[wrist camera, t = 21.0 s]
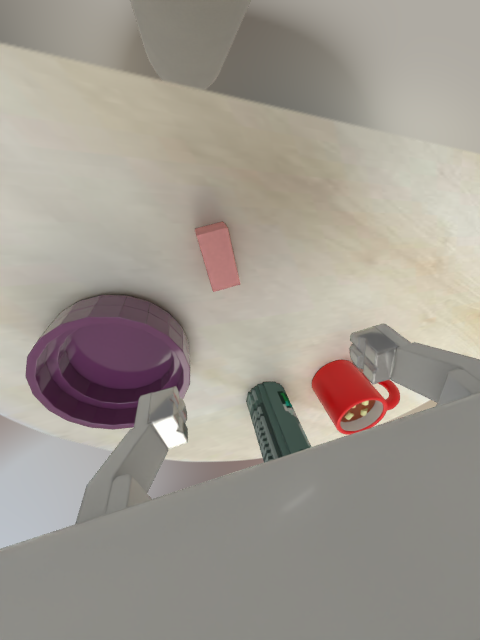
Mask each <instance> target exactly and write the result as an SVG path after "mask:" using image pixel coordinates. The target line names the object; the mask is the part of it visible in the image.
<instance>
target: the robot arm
mask: <svg viewBox="0 0 480 640" xmlns="http://www.w3.org/2000/svg"><path fill="white" fill-rule="evenodd" d="M350 341H351V342H352V343H353V344H352V345H351V347H350V357H351V359H352V361H353V363H354V364H355V365H356V366H357V367H358V368H361V369H363V374H364V375H365V376H366V378H367V379H368V380H369V381H370V382H371V383H372V384H376V383H379V382H383V381H386V380H390V379H391V380H392V381H394V382H396V383H398V384H400V385H402V386H404V387H406V388H408V389H410V390H412V391H414V392H416V393H418V394H421V395H423V396H425V397H427V398H429V399H431V400H433V401H435V402H437V405H436V407H433V408H430V409H427V410H424V411H420V412H417V413H414V414H411V415H408V416H405V417H402V418H399V419H396V420H393V421H390V422H387V423H384V424H381V425H378V426H375V427H372V428H368V429H365V430H362V431H359V432H356V433H353V434H350V435H347V436H344V437H341V438H338V439H335V440H332V441H329V442H326V443H323V444H320V445H317V446H314V447H311V448H307V449H304V450H301V451H298V452H295V453H292V454H289V455H286V456H283V457H280V458H277V459H274V460H271V461H268V462H264V463H261V464H258V465H255V466H252V467H249V468H246V469H243V470H240V471H237V472H234V473H231V474H228V475H225V476H222V477H219V478H216V479H212V480H209V481H206V482H203V483H200V484H197V485H194V486H191V487H188V488H185V489H182V490H179V491H176V492H173V493H170V494H167V495H163V496H161V497H157V498H154V499H151V497H150V496H149V495H148V494H147V493H148V491H149V489H150V487H151V485H152V483H153V481H154V478H155V477H156V474H157V472H158V471H159V468H160V466H161V464H162V462H163V460H164V458H165V456H166V454H167V452H168V449H170V448H173V447H176V446H179V445H182V444H185V443H188V429H187V426H186V424H185V422H186V421H187V411H186V406H185V403H184V401H183V399H182V398H180V397H179V391H178V389H177V387H176V386H173V387H169V388H166V389H162V390H158V391H155V392H152V393H148V394H145V395H141V396H140V398H139V401H138V407H137V413H136V418H135V424H134V428H133V429H130V430H129V432H128V433H127V434H126V435H125V437H124V438H123V439H122V441H121V442H120V443H119V444H118V446H117V447H116V448H115V450H114V451H113V452H112V453H111V455H110V456H109V457H108V459H107V460H106V461H105V463H104V464H103V465H102V466H101V468H100V469H99V470H98V471H97V473H96V474H95V475H94V477H93V478H92V479H91V480H90V482H89V483H88V484H87V486H86V489H85V493H84V497H83V500H82V503H81V507H80V510H79V513H78V517H77V521H76V524H75V525H72V526H69V527H66V528H63V529H59V530H56V531H53V532H50V533H47V534H44V535H41V536H38V537H35V538H32V539H29V540H26V541H23V542H20V543H17V544H14V545H11V546H7V547H4V548H1V549H0V640H480V360H479V359H476V358H472V357H468V356H464V355H461V354H457V353H453V352H449V351H445V350H442V349H438V348H434V347H430V346H427V345H423V344H419V343H415V342H414V343H410V342H409V341H408V340H406V339H405V338H404V337H402V336H401V335H400V334H398V333H397V332H396V331H394V330H393V329H392V328H390V327H389V326H388V325H386V324H379V325H376V326H373V327H370V328H367V329H364V330H360V331H357V332H354V333H352V334H351V335H350Z"/></svg>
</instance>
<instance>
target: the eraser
mask: <svg viewBox="0 0 480 640" xmlns="http://www.w3.org/2000/svg"><path fill="white" fill-rule="evenodd" d="M195 232H196V236H197V239H198V242H199V246H200V249H201V253H202V256H203V259H204V263H205V266H206V270H207V273H208V276H209V280H210V283H211V287H212V290H213V292H215V291H219V290H222V289H226V288H229V287H233V286H236V285H240V280H239V276H238V271H237V267H236V263H235V258H234V254H233V249H232V245H231V240H230V236H229V231H228V227H227V226H226V225H225V224H224V222H223V221H222V222H219V223H215V224H211V225H207V226H203V227H200V228H196V229H195Z"/></svg>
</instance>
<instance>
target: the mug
mask: <svg viewBox="0 0 480 640" xmlns="http://www.w3.org/2000/svg"><path fill="white" fill-rule="evenodd" d="M378 384H380V385H382V386H383V387H385V388H386V389H387V391H388V392H389V397H388V398H387V399H386V400H385V399H384V398H383V397H382V396H381V395H380V394H379V392H378V391H377V390H376V389H375V388H374V387H373V386H372V385H371V383H370V381H369V380H368V379H367V378H366V376H365V375H364V374H363V373H361V372H360V371H359V370H358V369H357V368H356V367H355V365H354V364H353V363H351V362H350V361H347V360H337V361H333V362H331V363H329V364H326V365H325V366H323V367H322V368H321V369H320V370H319V371H318V372H317V373H316V374H315V376H314V378H313V380H312V388H313V390H314V392H315V394H316V395H317V397H318V399H319V400H320V402H321V403H322V405H323V407H324V408H325V410H326V412H327V413H328V415H329V417H330V418H331V420H332V422H333V423H334V425H335V427H336V428H337V430H338V431H339V432H341V433H343V434H349V435H350V434H353V433H356V432H359V431H362V430H365V429H368V428H371V427H373V426H374V425H376V424H377V423H378V422H379V421H380V420H381V419H382V418H383V417H384V415H385V414H386V411H387V410H390V409H393V408H394V407H395V406H396V405H397V404H398V403H399V401H400V393H399V390H398V388H397V387H396V385H395V384H394V383H393V382H392V381H390V380H386V381H383V382H379V383H378Z"/></svg>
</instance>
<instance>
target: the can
mask: <svg viewBox="0 0 480 640" xmlns="http://www.w3.org/2000/svg"><path fill="white" fill-rule="evenodd" d="M246 402H247V405H248V409H249V412H250V415H251V419H252V422H253V426H254V429H255V433H256V436H257V440H258V443H259V446H260V450H261V453H262V457H263V460H264V462H268V461H271V460H274V459H277V458H280V457H283V456H286V455H289V454H292V453H295V452H298V451H301V450H304V449H307V448H311V445H310V443H309V441H308V439H307V437H306V434H305V432H304V430H303V428H302V426H301V424H300V422H299V420H298V418H297V416H296V413H295V411H294V409H293V407H292V405H291V403H290V401H289V399H288V397H287V395H286V392H285V390H284V388H283V387H282V386H281V385H280V384H276V382H263V384H258V385H257V386H255V387H254V388H252V390H251V392H248V396H247V401H246Z"/></svg>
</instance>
